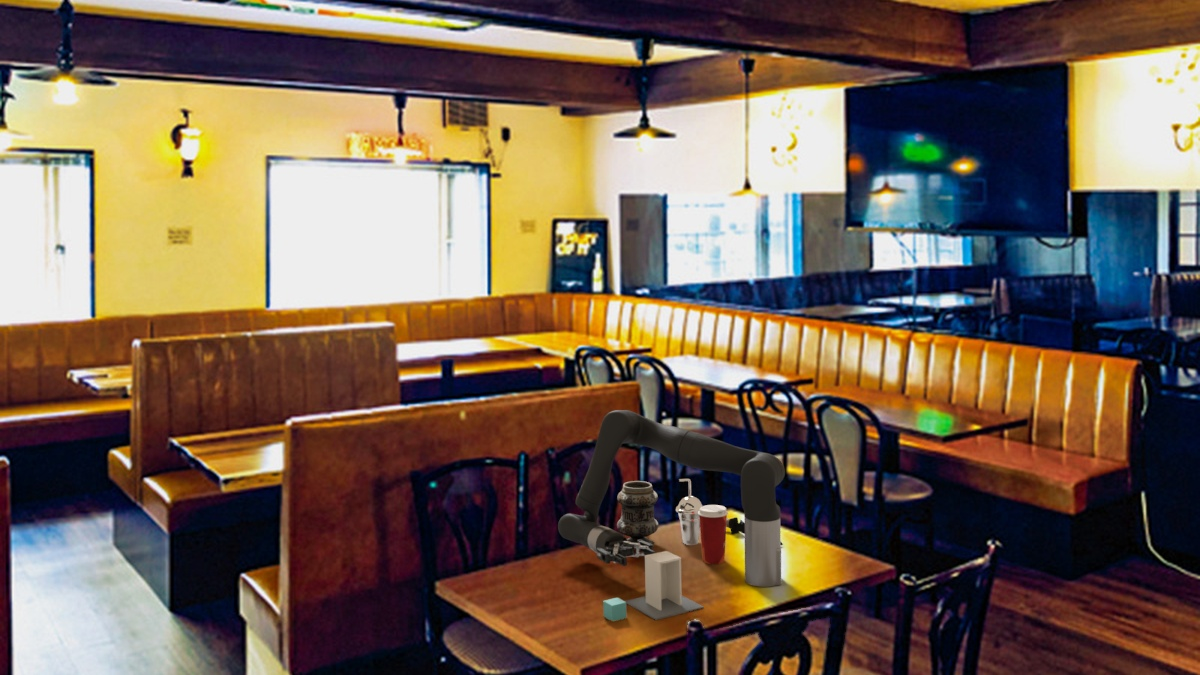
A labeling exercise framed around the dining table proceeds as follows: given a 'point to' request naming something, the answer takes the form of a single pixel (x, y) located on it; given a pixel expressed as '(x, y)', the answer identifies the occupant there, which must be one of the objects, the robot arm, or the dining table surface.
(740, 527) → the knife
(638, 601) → the mat
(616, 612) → the block
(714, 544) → the coffee cup
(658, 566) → the cream rectangular box
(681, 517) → the cup with straw
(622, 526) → the apothecary jar
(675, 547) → the dining table surface
